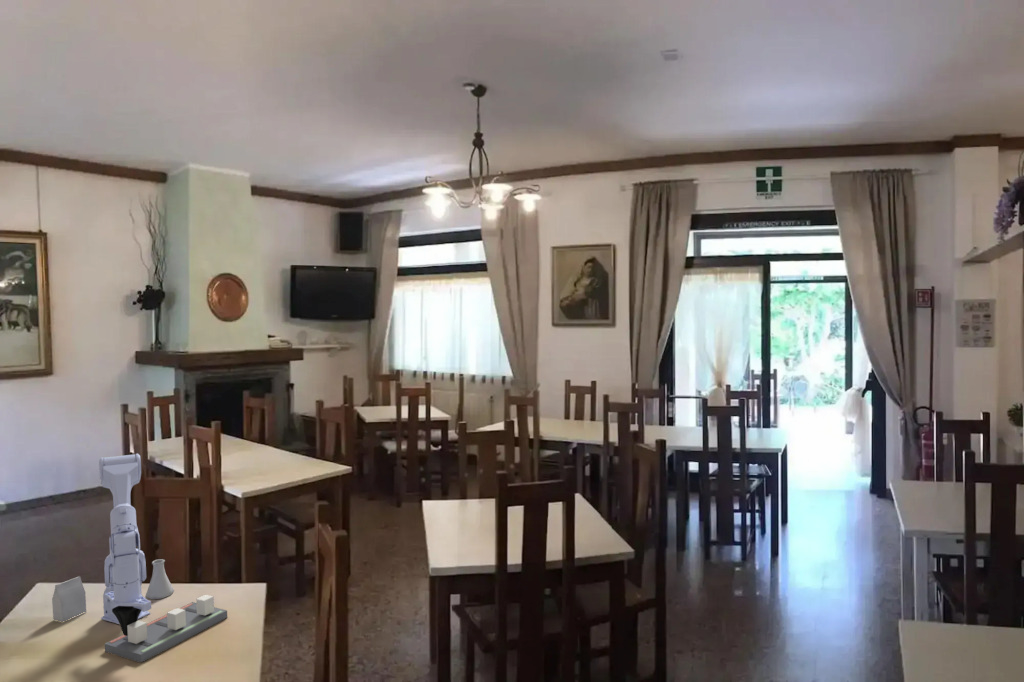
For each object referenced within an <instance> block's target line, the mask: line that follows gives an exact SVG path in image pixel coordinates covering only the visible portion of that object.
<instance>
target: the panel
mask: <svg viewBox="0 0 1024 682" xmlns="http://www.w3.org/2000/svg"><path fill="white" fill-rule="evenodd" d="M179 609H183V610H185V613H186V625H185V626H183V627H181V628H179V629H177V630H173V629H170V628H168V622H167V613H166V614H164V615H162V616H160V617H158V618H156V619H154V620H152V621H149V622H146V623H147V639H145V640H143V641H141V642H139V643H137V644H135V643H132V642H128V636H125V635H124V634H122V635H120V636H118V637H116V638H113V639H111V640H110V641H107V642H105V643H104V652H105V653H108V652H109V654H111V653H112V654H111V655H114V654H115V656H117V655H118V656H117V657H121V658H125V659H127V658H128V660H130V659H131V660H132V661H133V662H138V663H140V662H142V663H144V662H145V660H146V661H147V659H148V658H149V659H151V658H153V657H155V656H157V655H159V654H161V653H163V652H164V650H165V651H166V649H167V650H169V649H170V648H172V647H174V646H176V645H177V644H180V643H182V642H184V641H185V639H186V640H188V639H189V638H191V637H194V636H195V635H197V634H199V633H201V632H203V631H204V629H205V630H206V629H208V627H209V628H210V627H212V626H215V625H216V624H218V623H220V622H222V621H224V620H226V619H228V610H226V609H223V608H219V607H215V606H214V611H213V612H211V613H209V614H207V615H201V614H197V603H196V601H195V602H194V601H192V602H189V603H188V604H186V605H184V606H182V607H180V608H179ZM225 618H226V619H225ZM183 640H184V641H183ZM162 651H163V652H162ZM160 652H161V653H160ZM158 653H159V654H158ZM156 654H157V655H156ZM154 655H155V656H154ZM152 656H153V657H152ZM150 657H151V658H150ZM149 659H148V660H149ZM131 660H130V661H131ZM143 661H144V662H143Z"/></svg>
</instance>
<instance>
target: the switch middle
mask: <svg viewBox="0 0 1024 682" xmlns="http://www.w3.org/2000/svg"><path fill="white" fill-rule="evenodd" d="M166 614H167V622H168V628H170V629H173V630H177V629H179V628H181V627H183V626H185V625H186V613H185V610H183V609H179V608H178V607H176V608H174V609H172V610H169V611H167V613H166Z"/></svg>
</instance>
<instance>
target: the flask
mask: <svg viewBox="0 0 1024 682" xmlns="http://www.w3.org/2000/svg"><path fill="white" fill-rule="evenodd" d="M165 562H166V560H165V559H163V558H162V559H155V560H153V561H151V565H152V566H153V567H152V575H151V578H150V582H149V585H148V588H147V590H146V593H145V598H146V599H150V600H154V599H156V600H157V599H163V598H166V597H168V596H169V597H170V596H171V595H172V594H173V593H174V592H175V589H174V587H173V585H172V583H171V582H170V580H169V577H168V576H167V574H166V569H165Z"/></svg>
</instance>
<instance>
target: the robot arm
mask: <svg viewBox="0 0 1024 682" xmlns="http://www.w3.org/2000/svg"><path fill="white" fill-rule="evenodd" d="M141 460H142V459H141V455H140V454H139V453H134V454H126V455H118V456H117V455H116V456H115V455H114V456H108V457H103V456H102V457H100V458H99V459H98V466H99V468H98V469H99V480H100V485H101V487H102V488H105V489H109V491H110V493H111V495H112V499H113V501H112V503H113V508H112V509H111V510H110V514H109V516H110V517H109V520H110V536H109V538H108V540H109V541H108V542H109V544H108V545H109V554H108V555H107V556H106V557H105V560H104V570H103V571H104V586H105V587H106V588H105V589H104V591H103V595H102V598H103V599H102V600H103V601H102V602H103V616H101V617H100V619H101V620H102V621H106V622H110V623H114V624H118V625H120V628H121V631H122V633H123V634H122V635H125V636H128V630H127V625H129V624H132V623H134V622H136V621H138V620H139V619H141V618H144V617H147V616H148V615H150V614H151V613H150V612H151V611H149V610H151V609H152V601H151V600H149V599H148V598H147V597H144V596H143V595H142V594H143V593H142V592H143V591H142V583H143V582H145V580H146V579H147V566H146V564H147V563H146V556H145V553H144V551H143V550H141V539H140V536H141V535H140V533H139V528H138V525H137V522H138V521H137V511H136V508H135V507H134V506H133V505H132V503H131V501H132V500H131V491H132V488H133V487H134V486H135V485H137V484H139V483H140V481H141V477H142V461H141Z"/></svg>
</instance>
